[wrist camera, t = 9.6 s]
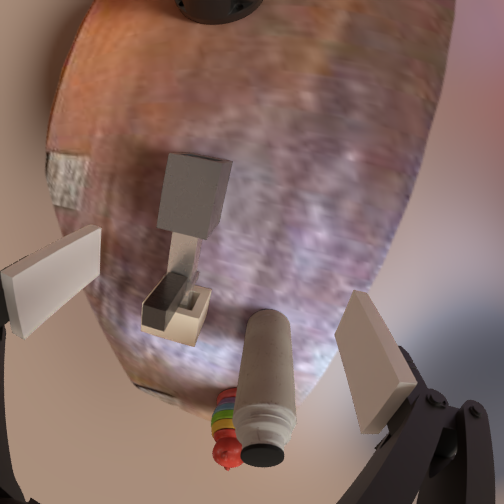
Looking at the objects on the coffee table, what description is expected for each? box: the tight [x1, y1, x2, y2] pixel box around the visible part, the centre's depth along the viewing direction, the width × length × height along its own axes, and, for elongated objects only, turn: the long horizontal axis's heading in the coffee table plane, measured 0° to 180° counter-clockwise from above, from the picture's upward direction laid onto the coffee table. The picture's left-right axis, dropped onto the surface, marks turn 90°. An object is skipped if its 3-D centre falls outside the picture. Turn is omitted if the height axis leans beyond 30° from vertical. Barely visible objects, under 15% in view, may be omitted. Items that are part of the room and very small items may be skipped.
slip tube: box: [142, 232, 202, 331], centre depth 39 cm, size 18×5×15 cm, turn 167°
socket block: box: [141, 278, 212, 347], centre depth 47 cm, size 6×9×10 cm, turn 77°
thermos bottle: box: [232, 309, 297, 467], centre depth 39 cm, size 8×8×28 cm
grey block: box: [156, 153, 233, 240], centre depth 40 cm, size 10×7×10 cm
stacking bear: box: [211, 388, 244, 471], centre depth 51 cm, size 11×10×18 cm
